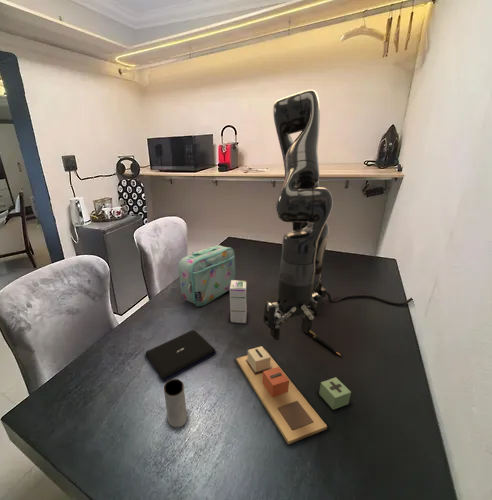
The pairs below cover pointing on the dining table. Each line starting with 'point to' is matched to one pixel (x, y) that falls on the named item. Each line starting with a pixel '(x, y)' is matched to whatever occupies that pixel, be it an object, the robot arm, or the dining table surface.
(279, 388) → the orange slotted cube
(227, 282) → the lunch box
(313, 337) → the fountain pen
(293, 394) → the wood board
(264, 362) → the cream slotted cube
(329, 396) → the green plus block
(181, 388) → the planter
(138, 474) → the dining table surface
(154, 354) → the laptop
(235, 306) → the syrup box
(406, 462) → the dining table surface
